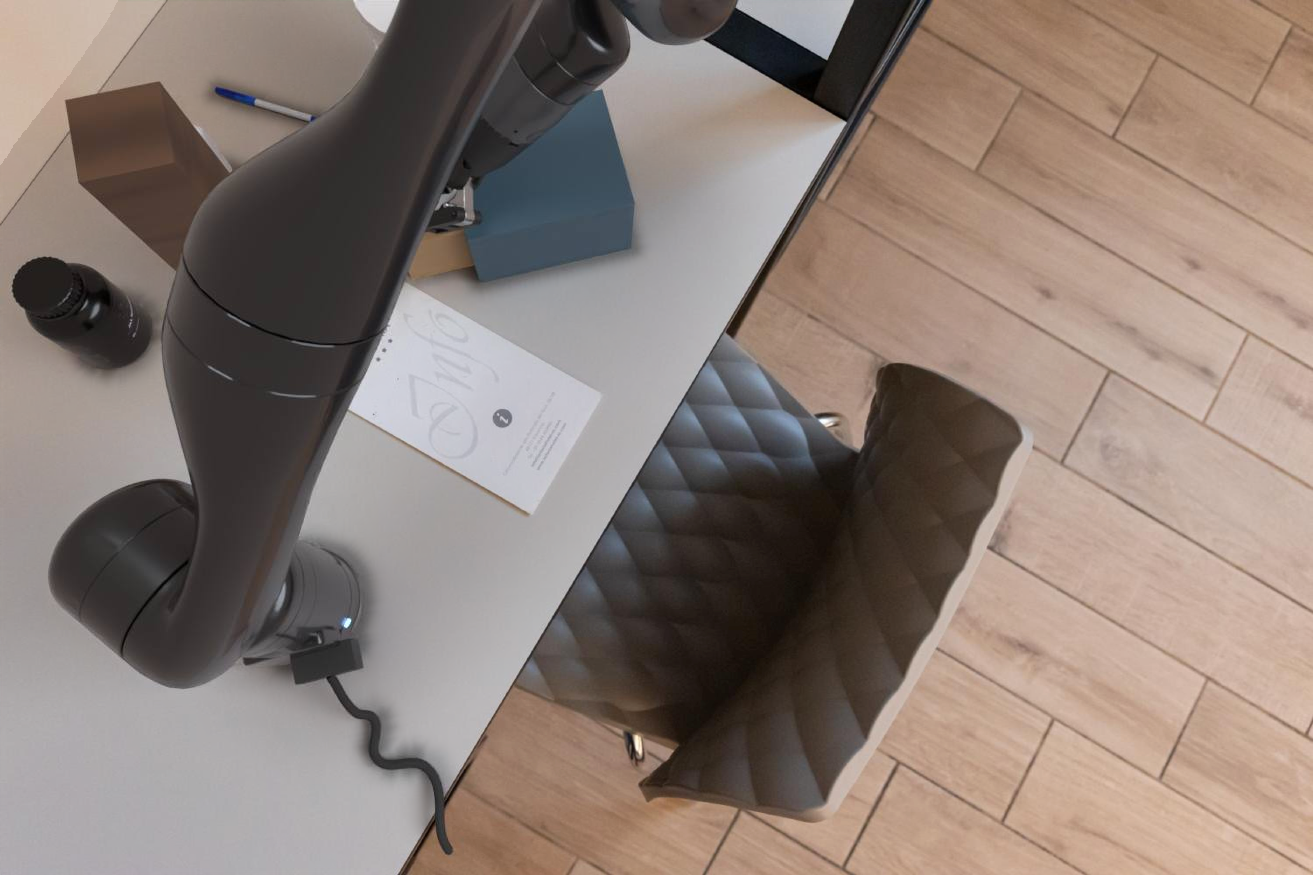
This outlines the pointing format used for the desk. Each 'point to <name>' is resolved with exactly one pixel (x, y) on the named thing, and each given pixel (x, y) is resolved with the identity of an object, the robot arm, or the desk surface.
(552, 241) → the cabinet
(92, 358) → the supplement bottle
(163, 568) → the robot arm
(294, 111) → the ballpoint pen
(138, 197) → the riser
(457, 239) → the drawer
